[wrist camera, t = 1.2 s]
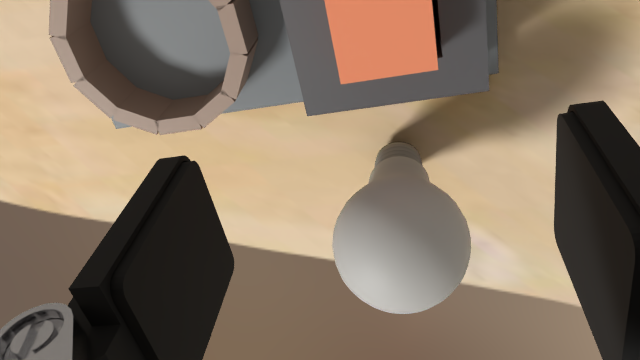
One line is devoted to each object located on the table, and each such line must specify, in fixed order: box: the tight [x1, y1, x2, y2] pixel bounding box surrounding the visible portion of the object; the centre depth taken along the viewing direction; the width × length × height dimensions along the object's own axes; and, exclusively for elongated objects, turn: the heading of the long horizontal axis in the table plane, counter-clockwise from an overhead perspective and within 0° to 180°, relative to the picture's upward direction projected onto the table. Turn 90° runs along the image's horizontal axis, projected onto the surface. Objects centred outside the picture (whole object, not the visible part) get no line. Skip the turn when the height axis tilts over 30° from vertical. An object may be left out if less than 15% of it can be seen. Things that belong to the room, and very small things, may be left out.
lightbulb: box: [333, 142, 471, 314], centre depth 26 cm, size 6×6×11 cm
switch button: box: [324, 0, 438, 84], centre depth 22 cm, size 4×4×4 cm
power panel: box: [49, 0, 499, 135], centre depth 25 cm, size 21×10×5 cm, turn 101°
